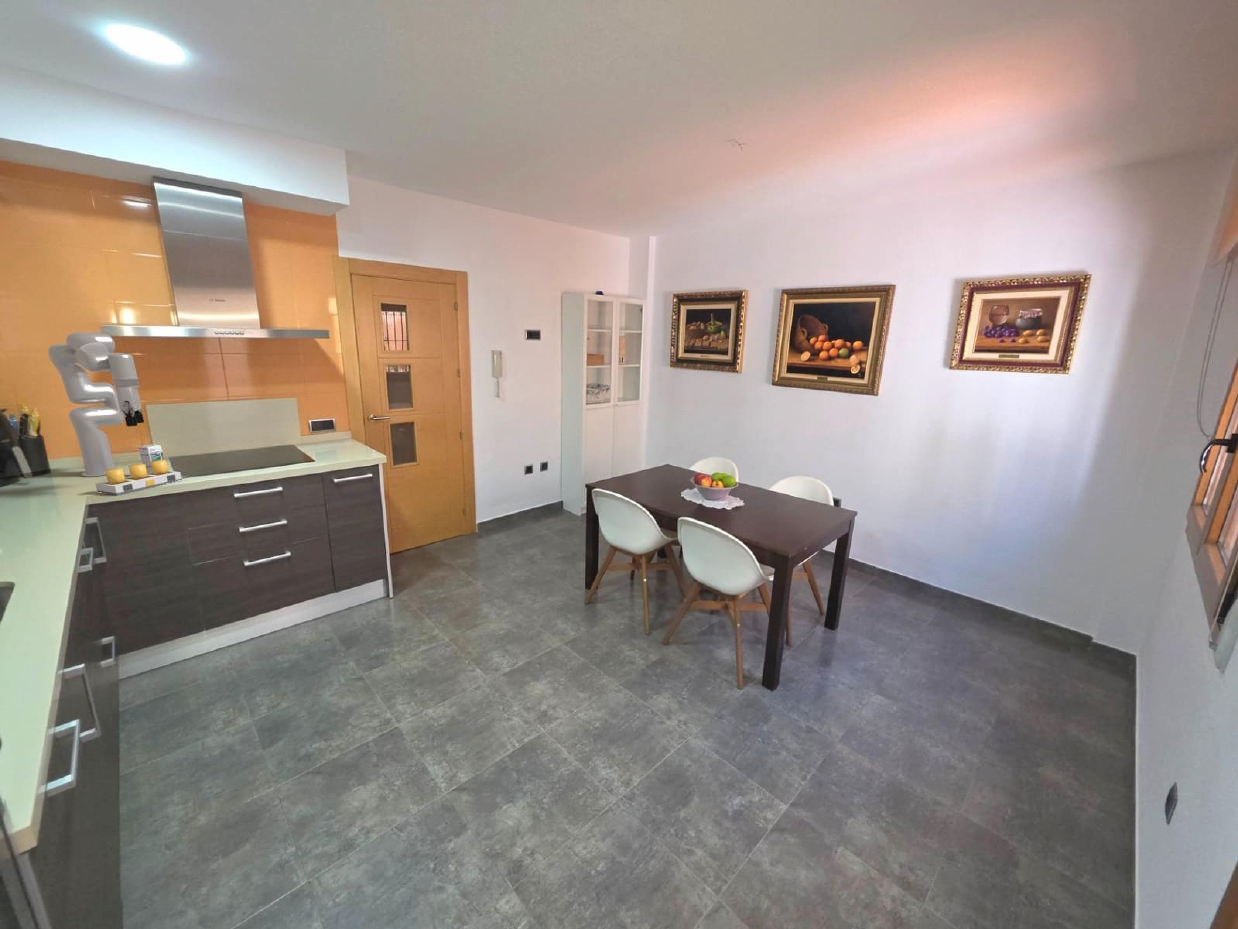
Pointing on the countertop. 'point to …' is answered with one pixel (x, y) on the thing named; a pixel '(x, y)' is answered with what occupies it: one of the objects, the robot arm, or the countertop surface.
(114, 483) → the button near
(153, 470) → the button far
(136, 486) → the console
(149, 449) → the syrup box
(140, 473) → the button mid
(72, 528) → the countertop surface
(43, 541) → the countertop surface
